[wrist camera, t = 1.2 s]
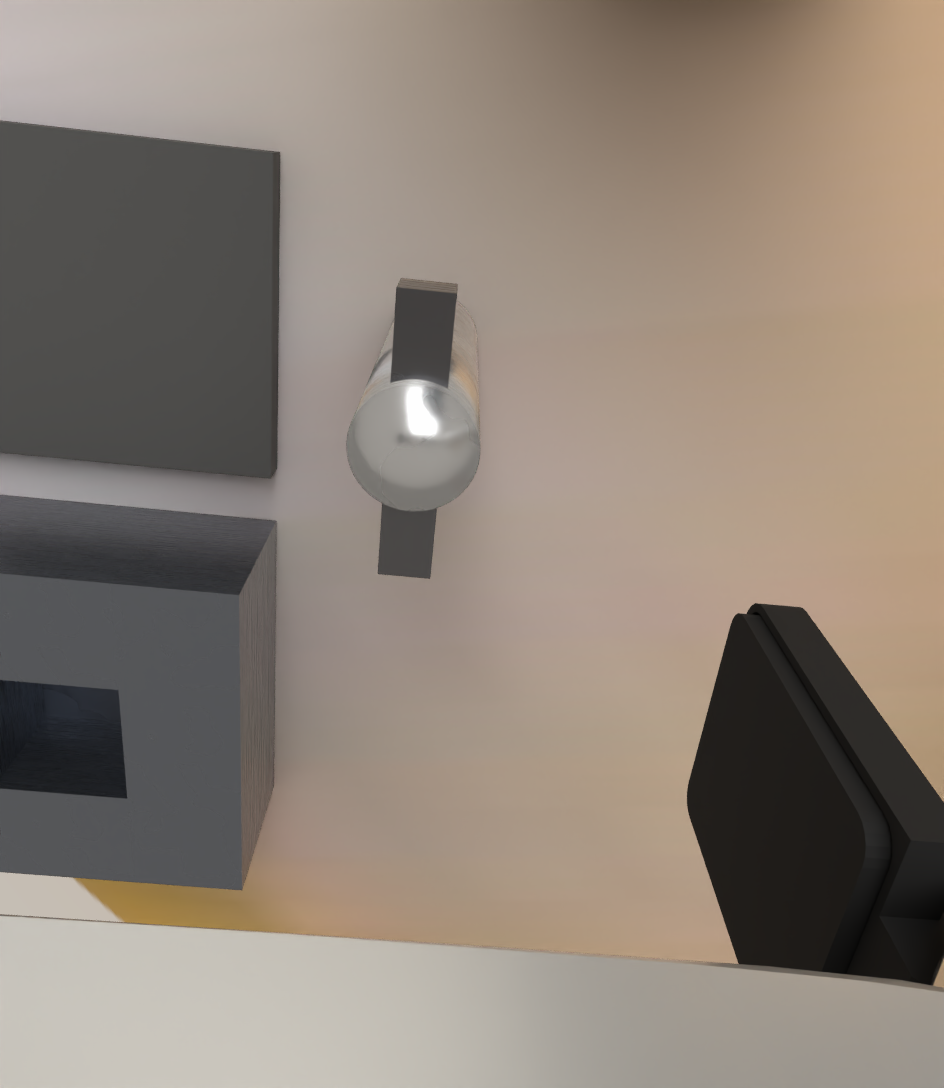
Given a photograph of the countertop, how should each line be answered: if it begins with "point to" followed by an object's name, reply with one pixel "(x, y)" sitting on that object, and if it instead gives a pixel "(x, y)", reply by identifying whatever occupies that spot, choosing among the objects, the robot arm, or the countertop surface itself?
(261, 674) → the block
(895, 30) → the countertop surface
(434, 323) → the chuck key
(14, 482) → the countertop surface
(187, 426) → the rubber pad
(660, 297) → the countertop surface
